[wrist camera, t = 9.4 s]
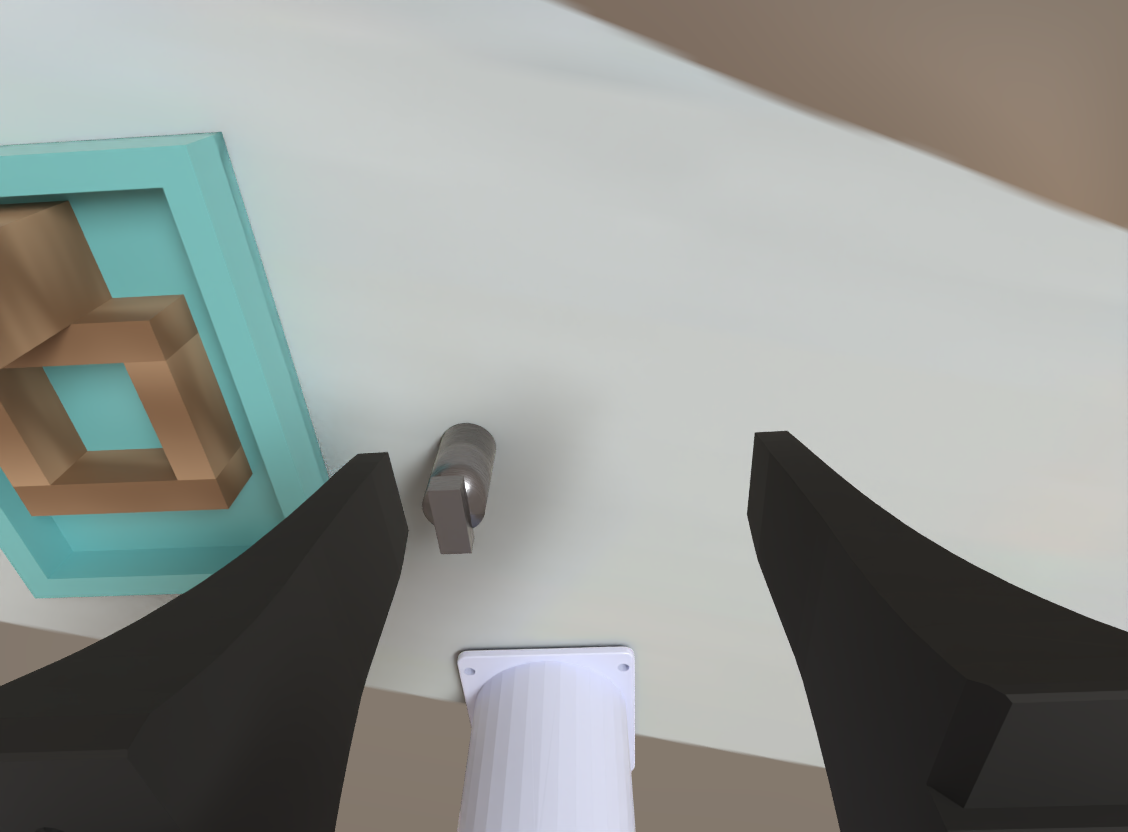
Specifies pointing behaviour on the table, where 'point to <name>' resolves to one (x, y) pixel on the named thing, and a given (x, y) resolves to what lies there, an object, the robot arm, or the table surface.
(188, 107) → the table surface
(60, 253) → the collar
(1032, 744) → the robot arm
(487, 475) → the stake
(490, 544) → the table surface
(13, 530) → the tray
